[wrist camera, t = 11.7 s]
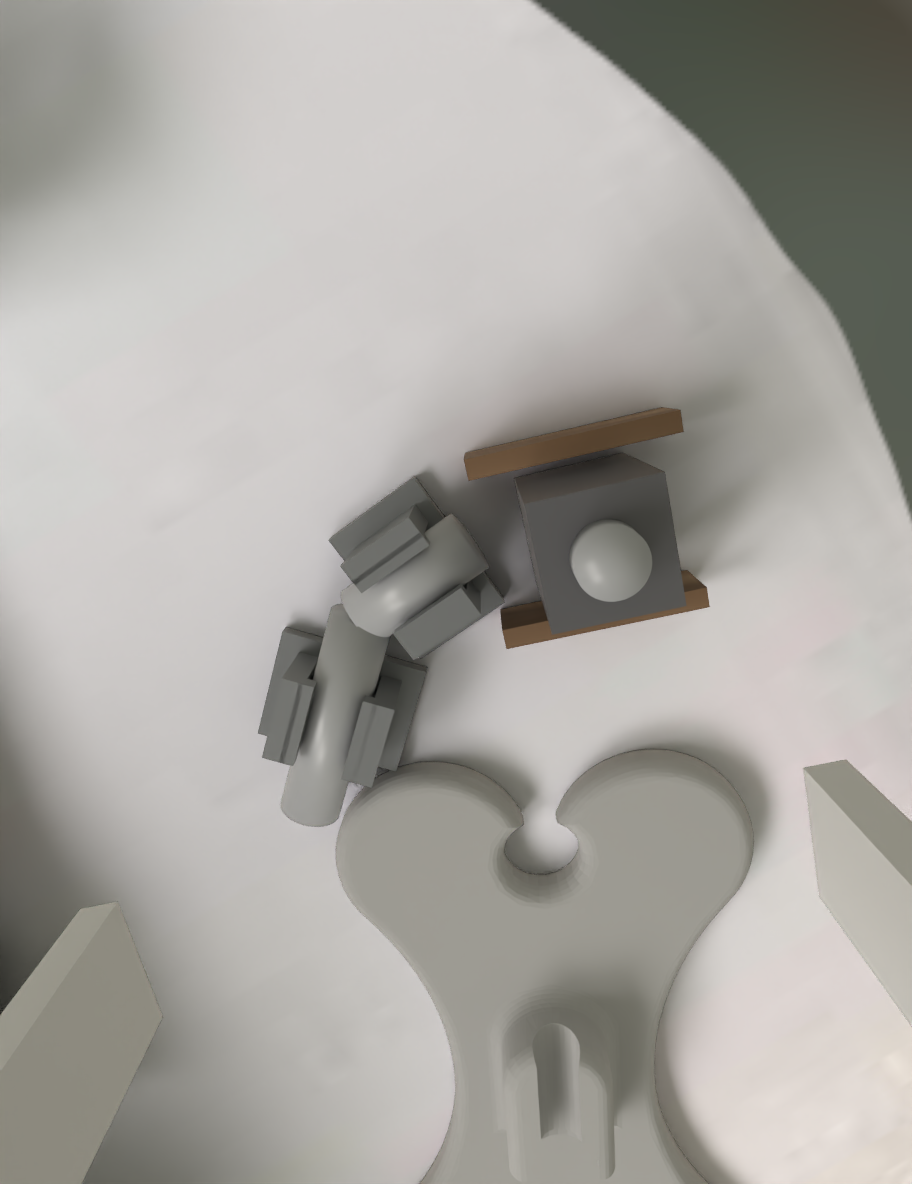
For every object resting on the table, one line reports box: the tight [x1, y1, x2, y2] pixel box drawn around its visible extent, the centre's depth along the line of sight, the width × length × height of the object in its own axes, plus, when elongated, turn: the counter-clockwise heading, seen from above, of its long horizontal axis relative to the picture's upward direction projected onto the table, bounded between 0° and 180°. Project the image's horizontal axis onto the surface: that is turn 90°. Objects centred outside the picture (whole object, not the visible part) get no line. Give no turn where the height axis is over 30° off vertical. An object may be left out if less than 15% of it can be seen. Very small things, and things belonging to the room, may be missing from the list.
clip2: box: [329, 476, 505, 660], centre depth 30 cm, size 5×6×4 cm
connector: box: [514, 453, 687, 635], centre depth 27 cm, size 4×4×8 cm
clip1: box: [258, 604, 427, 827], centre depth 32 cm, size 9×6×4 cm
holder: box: [336, 749, 754, 1184], centre depth 36 cm, size 19×34×5 cm, turn 4°
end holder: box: [464, 407, 709, 649], centre depth 30 cm, size 8×8×3 cm
